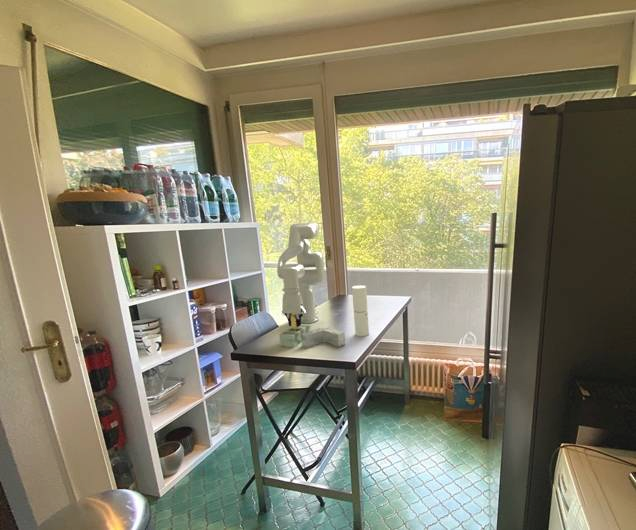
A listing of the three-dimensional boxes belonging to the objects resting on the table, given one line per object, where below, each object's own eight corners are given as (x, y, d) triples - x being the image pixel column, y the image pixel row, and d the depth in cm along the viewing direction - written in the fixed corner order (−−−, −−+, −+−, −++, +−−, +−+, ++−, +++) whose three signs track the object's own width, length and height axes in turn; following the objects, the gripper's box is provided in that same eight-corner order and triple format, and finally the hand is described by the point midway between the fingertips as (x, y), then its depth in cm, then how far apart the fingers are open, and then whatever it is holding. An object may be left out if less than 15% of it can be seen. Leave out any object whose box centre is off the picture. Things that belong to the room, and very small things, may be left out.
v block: (304, 340, 171) (303, 328, 170) (345, 338, 169) (344, 326, 168) (301, 348, 160) (299, 336, 159) (345, 346, 158) (344, 334, 157)
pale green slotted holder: (298, 334, 181) (297, 323, 180) (311, 335, 178) (310, 324, 177) (280, 346, 165) (279, 334, 164) (294, 347, 162) (293, 335, 161)
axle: (294, 337, 174) (292, 313, 172) (301, 337, 172) (299, 313, 171) (291, 340, 171) (288, 315, 169) (297, 340, 169) (295, 316, 167)
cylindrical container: (353, 333, 175) (349, 286, 172) (364, 330, 178) (361, 284, 175) (359, 337, 169) (355, 289, 166) (371, 334, 171) (368, 286, 168)
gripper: (273, 292, 169) (277, 326, 171) (302, 292, 161) (306, 329, 164) (281, 289, 175) (285, 322, 178) (309, 289, 168) (312, 324, 170)
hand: (295, 325), depth 171 cm, fingers closed on axle, 4 cm apart
